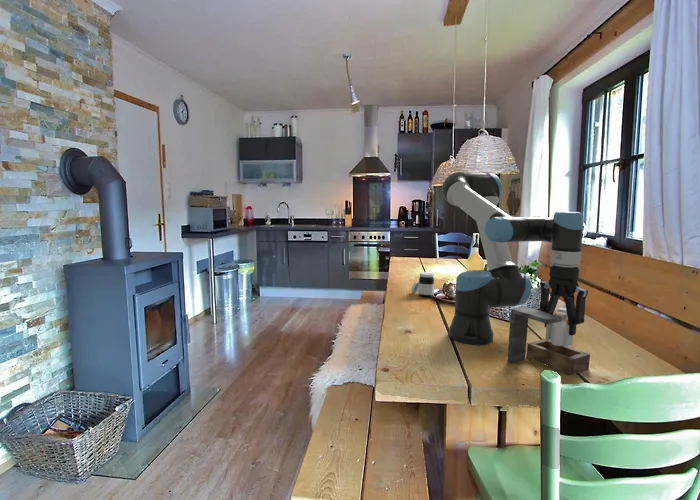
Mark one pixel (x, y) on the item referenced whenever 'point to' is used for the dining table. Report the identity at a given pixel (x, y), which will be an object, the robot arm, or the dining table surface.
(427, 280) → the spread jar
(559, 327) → the pepper shaker
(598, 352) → the dining table surface
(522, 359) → the brown and grey frame
